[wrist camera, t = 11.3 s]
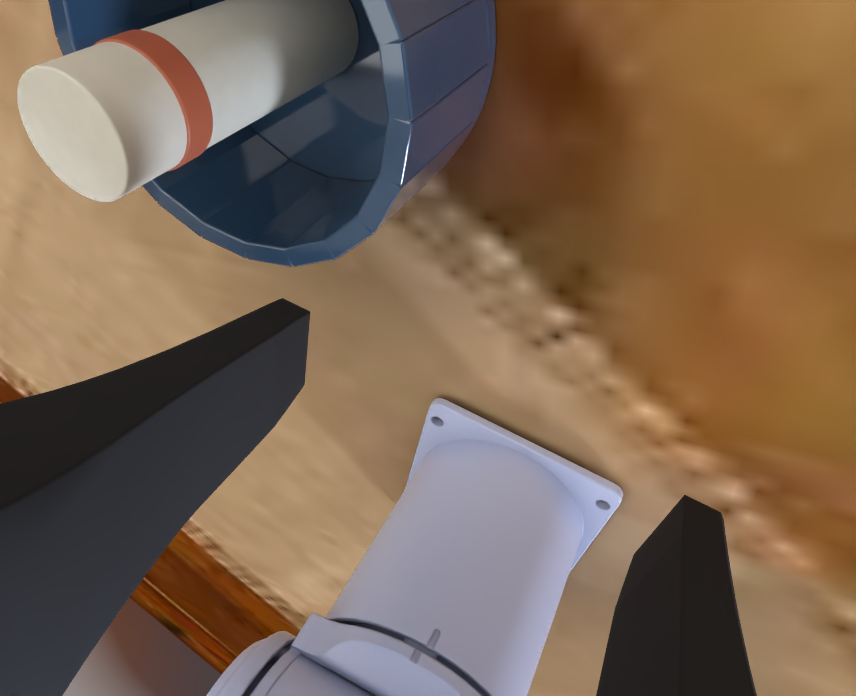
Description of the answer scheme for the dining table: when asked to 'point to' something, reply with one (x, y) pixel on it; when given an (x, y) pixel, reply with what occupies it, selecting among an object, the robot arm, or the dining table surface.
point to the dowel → (178, 88)
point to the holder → (324, 128)
